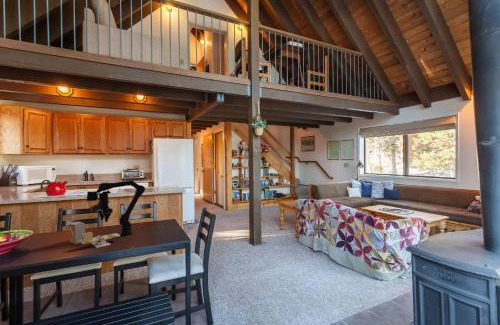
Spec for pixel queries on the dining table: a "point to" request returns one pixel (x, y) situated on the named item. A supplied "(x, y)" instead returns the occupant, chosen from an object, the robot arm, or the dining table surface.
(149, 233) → the dining table surface
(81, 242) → the beam
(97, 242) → the pivot stand
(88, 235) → the wooden block
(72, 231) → the small box
